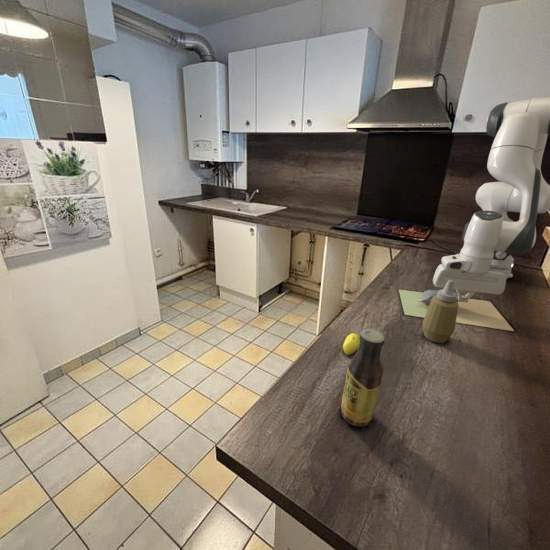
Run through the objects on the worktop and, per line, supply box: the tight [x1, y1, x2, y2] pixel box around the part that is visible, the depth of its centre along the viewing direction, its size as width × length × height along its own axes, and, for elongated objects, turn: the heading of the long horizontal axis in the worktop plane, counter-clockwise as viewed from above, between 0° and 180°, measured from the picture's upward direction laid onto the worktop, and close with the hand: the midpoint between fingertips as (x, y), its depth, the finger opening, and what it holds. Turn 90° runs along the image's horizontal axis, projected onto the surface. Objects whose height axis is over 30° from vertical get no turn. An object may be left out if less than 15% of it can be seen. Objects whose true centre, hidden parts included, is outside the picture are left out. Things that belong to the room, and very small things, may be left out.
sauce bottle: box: [340, 328, 386, 428], centre depth 54 cm, size 6×6×20 cm
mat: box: [398, 289, 515, 332], centre depth 100 cm, size 20×31×1 cm, turn 74°
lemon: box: [342, 332, 360, 356], centre depth 77 cm, size 4×8×4 cm, turn 145°
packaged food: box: [418, 289, 458, 306], centre depth 100 cm, size 9×12×5 cm
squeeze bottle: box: [421, 280, 458, 344], centre depth 80 cm, size 8×8×18 cm
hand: (461, 301), depth 98 cm, fingers closed
